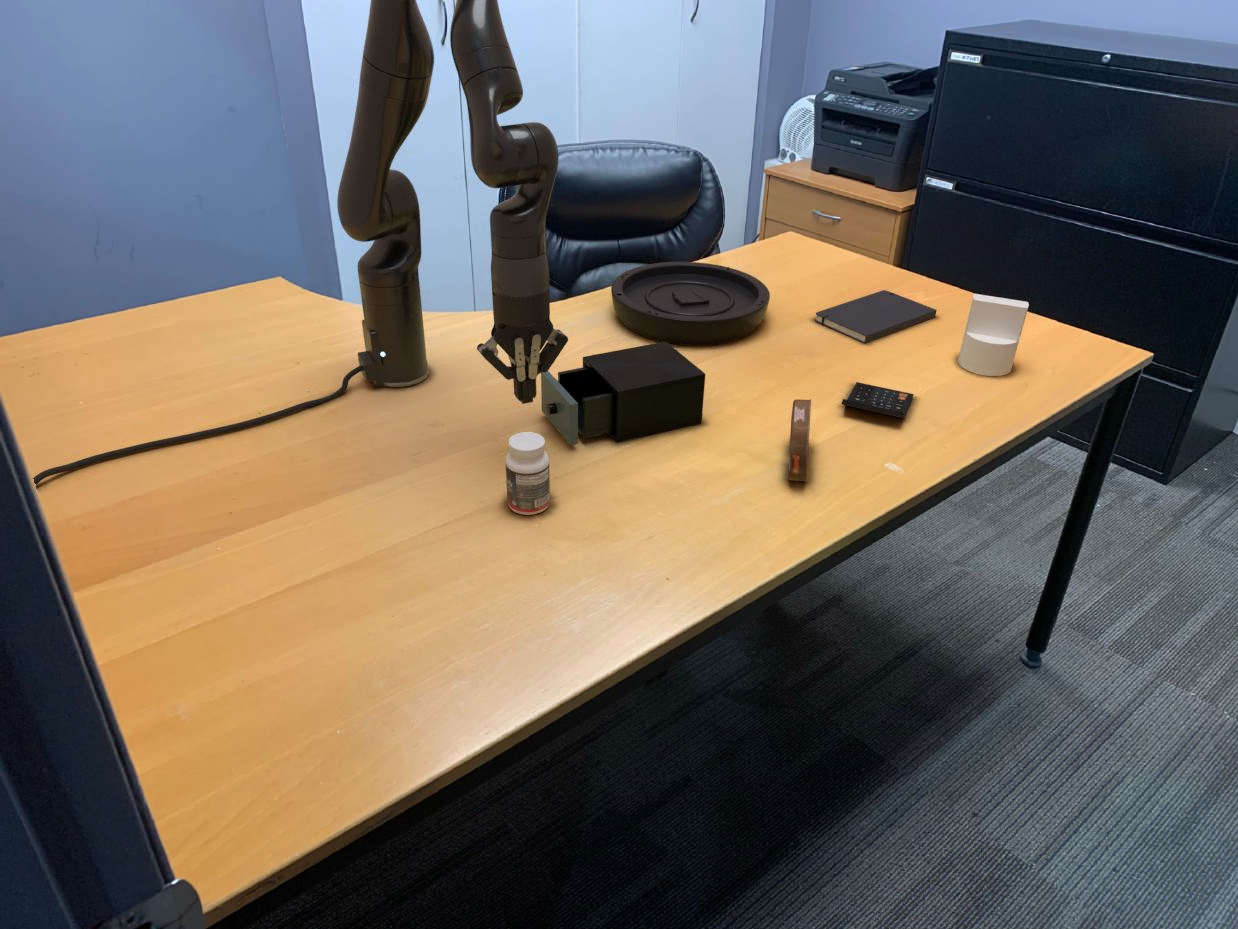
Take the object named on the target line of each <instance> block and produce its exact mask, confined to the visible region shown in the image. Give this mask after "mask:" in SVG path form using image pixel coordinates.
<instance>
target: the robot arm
mask: <svg viewBox="0 0 1238 929" xmlns="http://www.w3.org/2000/svg"><path fill="white" fill-rule="evenodd" d="M369 4H370V6H369V13H368V21H367V28H366V34H365V39H364V45H363V50H362V57H361V66H360V71H359V72H360V73H359V84H358V92H357V100H356V106H355V112H354V118H353V124H352V125H353V126H352V130H351V135H350V136H351V137H350V142H349V147H348V149H347V150H348V151H347V154H346V157H345V162H344V166H343V170H342V174H341V177H340V182H339V184H338V191H337V202H336V203H337V206H336V207H337V215H338V218H339V219H338V220H339V222H340V224H341V227H342V229H343V230H344V232H345V233H346V234H347V235H348V237H349V238H351V239H353V240H355V241H357V242H359V243H360V242H361V243H367V242H372V245H371V246H370V247H369V248H368V249H367V250H366V252H365V253H364V254H362V256H360V258H359V260H358V261H357V267H356V268H357V276H358V282H359V291H360V297H361V304H362V305H361V306H362V313H363V319H362V321H361V328H362V334H363V342H364V348H365V349H364V350H365V351H358V352H357V358H358V366H356V367H355V368H353V369H351V370H350V371H349V372H347V373H346V374H345V376H344V377H343V379H342V382H341V387H340V388H338V390H336V391H335V392H333V393H332V394H330V395H328V396H325V397H322V398H317V399H312V400H307V401H304V402H300V403H298V404H296V405H292V406H290V407H286V408H284V409H280V410H278V411H275V412H272V413H268V414H265V415H262V416H258V417H256V418H252V419H248V420H244V421H240V422H236V423H232V424H227V425H224V426H218V427H215V428H210V429H204V430H200V431H197V432H191V433H187V434H186V433H185V434H182V435H177V436H173V437H167V438H162V439H157V440H152V441H149V442H144V443H140V444H135V445H131V446H127V447H122V448H119V449H114V450H111V451H106V452H103V453H102V452H101V453H98V454H96V455H91V456H88V457H85V458H83V459H79V460H76V461H73V462H70V463H67V464H63V465H59V466H55V467H51V468H48V469H45V470H43V471H41V472H40V473H38V474H36V475H35V476H33V477H32V479H34V483H35V484H36V486H37V485H38V484H39V483H40V482H41V481H43V480H44V479H46V478H48V477H52V476H53V475H54V476H55V475H57V474H62V473H64V472H69V471H73V470H75V469H79V468H82V467H84V466H87V465H89V464H91V465H92V464H93V463H96V462H97V463H98V462H101V461H105V460H108V459H112V458H117V457H121V456H125V455H128V454H132V453H137V452H140V451H145V450H149V449H153V448H158V447H163V446H168V445H173V444H178V443H183V442H187V441H193V440H197V439H201V438H205V437H210V436H215V435H218V434H223V433H228V432H233V431H236V430H241V429H244V428H248V427H252V426H256V425H260V424H262V423H266V422H268V421H272V420H275V419H278V418H281V417H284V416H287V415H290V414H292V413H295V412H299V411H301V410H304V409H307V408H311V407H315V406H319V405H322V404H326V403H328V402H330V401H332V400H335V399H337V398H339V397H340V396H342V395H343V394H344V393H345V392H346V391H347V389H348V386H349V382H350V381H351V379H352V378H353V377H355V376H356V375H357V374H359V373H362V375H363V377H364V379H365V381H366V382H367V383H368V382H373V384H374V385H375V386H376V388H380V387H388V388H404V387H405V388H406V387H410V386H414V385H417V384H419V383H421V382H423V381H425V379H427V378H428V376H429V366H428V358H427V347H426V336H425V327H424V318H423V317H424V316H423V307H422V296H421V286H420V275H419V274H420V273H419V266H420V262H421V261H422V260H421V259H422V232H421V231H422V229H421V211H420V202H419V199H418V195H417V192H416V189H415V187H414V185H413V183H412V181H411V180H410V178H408V176H407V175H406V174H405V173H403V172H401V170H396V169H391V167H392V164H393V162H394V159H395V157H396V155H397V153H399V150H400V149H401V147H402V146H403V145H404V143H405V141H406V140H407V138H408V137H409V135H410V134H411V132H412V131H413V129H414V128H415V126H416V124H417V123H418V122H419V120H420V117H421V116H422V115H423V113H424V110H425V107H426V105H427V102H428V98H429V93H430V88H431V83H432V78H433V73H434V68H435V50H434V46H433V41H432V38H431V35H430V33H429V30H428V28H427V26H426V23H425V20H424V17H423V16H422V13H421V11H420V7H419V5H418V2H417V0H370V3H369ZM449 33H450V34H449V40H450V41H449V42H450V43H449V44H450V51H451V56H452V60H453V63H454V67H455V70H456V72H457V76H458V79H459V82H460V85H461V87H462V91H463V94H464V97H465V101H466V107H467V108H466V109H467V114H468V115H467V116H468V125H469V142H470V143H469V145H470V161H471V166H472V169H473V171H474V173H475V175H476V176H477V178H478V179H479V181H480V182H481V183H483V184H484V185H485V186H486V187H488V188H491V189H504V188H511V187H515V186H516V187H517V186H518V187H517V190H516V192H515V193H514V194H513V196H511V197H509V198H508V199H506V200H504V201H502V202H500V203H498V204H496V205H495V206H494V207H493V208H492V209H491V210H490V214H489V229H490V230H489V232H490V245H491V246H490V247H491V249H490V250H491V259H490V281H491V296H492V315H493V325H492V328H491V331H490V338H489V339H487V340H486V342H485V343H478V344H477V346H476V350H477V351H478V352H479V354H480V355H481V356H482V357H483V358H484V360H486V361H487V362H488V363H489V364H490V365H491V367H493V368H494V369H495V370H496V371H497V372H498V373H499V374H500V375H501V376H502V377H504V378H505V379H506V380H508V381H510V380H513V381H512V382H513V394H514V396H515V399H517V400H518V401H519V402H520V403H521V404H522V405H525V404H526V405H527V404H530V403H533V402H534V399H535V398H536V397H537V377H538V376H539V375H541V373H542V372H544V373H545V372H547V371H549V370H550V369H551V367H552V366H553V364H554V363H555V361H556V360H557V359H558V357H559V355H560V353H561V352H562V351H563V350H564V348H565V346H566V345H567V343H568V342H569V337H568V336H567V335H566V334H565V333H563V331H562V330H560V329H556V328H555V327H554V324H553V322H552V321H551V317H550V315H551V305H550V304H551V303H550V302H551V300H550V297H551V296H550V281H551V275H550V268H549V260H548V254H547V226H546V223H547V222H546V221H547V214H548V211H549V207H550V202H551V197H552V193H553V189H554V185H555V181H556V177H557V173H558V168H559V148H558V144H557V140H556V137H555V135H554V133H553V132H552V131H551V130H550V128H549V127H548V126H546V125H545V124H543V123H542V122H536V121H534V122H533V121H531V122H530V121H529V122H522V123H515V124H514V123H513V124H506V125H500V124H499V121H498V116H499V115H502V114H504V113H506V112H509V111H511V110H512V109H514V108H516V107H517V106H518V105H519V104H520V103H521V101H522V99H523V96H524V88H523V83H522V80H521V77H520V74H519V71H518V68H517V65H516V61H515V58H514V55H513V53H512V50H511V46H510V43H509V40H508V38H507V34H506V31H505V27H504V23H503V20H502V15H501V11H500V7H499V1H498V0H456V1H455V6H454V10H453V14H452V19H451V24H450V32H449ZM497 346H499V348H501V349H502V350H503V351H504V352H505V354H506V355H507V356H508V359H509V362H510V363H509V364H510V366H509V365H507V364H505V363H504V362H503V360H501V359H500V358H499V357H498V354H499V350H498V348H497Z"/></svg>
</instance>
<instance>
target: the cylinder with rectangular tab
mask: <svg viewBox="0 0 1238 929" xmlns="http://www.w3.org/2000/svg"><path fill="white" fill-rule="evenodd" d="M1029 306H1030V304H1029V302H1028V301H1024V300H1018V299H1012V298H1005V297H998V296H992V295H987V294H981V293H980V294H979V293H974V294H973V296H972V299H971V304H970V308H969V313H968V316H967V321H966V324H965V325H966V326H965V329H964V333H963V336H962V337H963V338H962V342H961V345H960V349H959V354H958V358H957V363H958V365H959V366H960V367H961V368H963V369H964V370H966V371H967V372H970V373H972V374H976V375H979V376H980V375H981V376H987V377H1001V376H1002V377H1003V376H1005V375H1008V374H1009V373H1011V371H1012V368H1013V365H1014V361H1015V357H1016V354H1017V350H1018V346H1019V342H1020V339H1021V336H1022V332H1023V328H1024V325H1025V321H1026V317H1027V314H1028V310H1029Z"/></svg>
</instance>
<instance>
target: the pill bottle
mask: <svg viewBox="0 0 1238 929" xmlns="http://www.w3.org/2000/svg"><path fill="white" fill-rule="evenodd" d="M545 450H546V440H545V438H544V436H543V435H541V434H539V433H537V432H532V431H522V432H521V431H520V432H517V433H515V434H513V435H512V436H510V437H509V438H508V454H507V455H506V458H505V478H506V479H505V480H506V481H505V482H506V499H507V500H506V502H507V506H508V507H509V509H510V510H512V511H513V512H514V513H517V514H519V515H525V516H530V515H532V516H533V515H536V514H540V513H542V512H544V511H545V510H547V509H548V507H549V506H550V503H551V475H550V472H551V471H550V457H549V455H548V452H546V451H545Z"/></svg>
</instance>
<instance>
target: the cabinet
mask: <svg viewBox="0 0 1238 929" xmlns="http://www.w3.org/2000/svg"><path fill="white" fill-rule="evenodd" d="M583 367H589V368H590V369H591V370H592V371H593V372H594V373H595V374H596V375H597V376H598V377H599V378H600V379H601V380H602V381H603V382H604V383H605V384H606V385H607V386H608V387H609V388H610V389H611V390H612V391H613V392H614V393H615V394H616V401H615V432H610V433H607V434H608V435H609V436H610V438H612V440H614V442H615V443H617V444H618V443H622V442H627V441H632V440H636V439H639V438H644V437H645V438H646V437H649V436H652V435H657V434H663V433H667V432H671V431H676V430H680V429H684V428H688V427H692V426H697V425H701V424H702V420H703V411H704V410H703V409H704V398H705V384H706V373H705V372H704V371H703V370H701V369H700V368H699V367H698V366H697V365H695V363H693V362H692V361H691V360H689V359H688V358H687V357H685V356H684V355H683V354H682V353H681V352H679V351H678V350H677V349H676V348H675V347H674V346H672V345H671V343H667V342H666V341H665V342H661V341H659V342H655V343H650V344H645V345H638V346H633V347H627V348H622V349H618V350H613V351H606V352H600V353H596V354H590V355H584V356H583V357H582V368H583Z"/></svg>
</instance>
